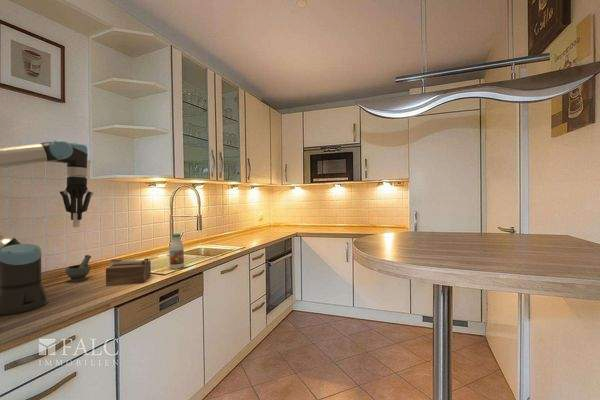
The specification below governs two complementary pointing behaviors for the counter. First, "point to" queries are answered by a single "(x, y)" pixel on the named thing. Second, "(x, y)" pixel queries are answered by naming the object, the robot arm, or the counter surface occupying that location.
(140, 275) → the crate
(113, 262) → the clasp bar
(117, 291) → the counter surface
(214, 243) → the counter surface
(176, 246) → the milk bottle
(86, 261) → the mortar and pestle
